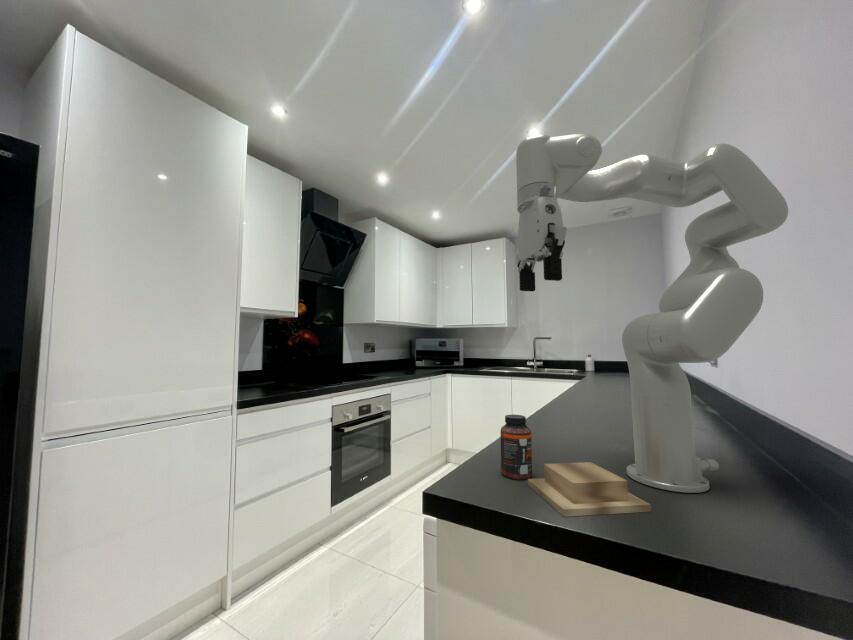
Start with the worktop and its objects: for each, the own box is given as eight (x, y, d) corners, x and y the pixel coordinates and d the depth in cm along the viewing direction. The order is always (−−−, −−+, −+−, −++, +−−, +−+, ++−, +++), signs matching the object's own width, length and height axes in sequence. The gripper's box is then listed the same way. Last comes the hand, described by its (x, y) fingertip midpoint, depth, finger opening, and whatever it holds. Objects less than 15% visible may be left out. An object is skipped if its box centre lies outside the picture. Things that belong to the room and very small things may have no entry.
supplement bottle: (534, 482, 61) (532, 419, 62) (501, 479, 62) (500, 417, 63) (530, 471, 66) (529, 414, 68) (500, 468, 68) (499, 412, 69)
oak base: (599, 481, 61) (597, 459, 62) (651, 511, 49) (649, 483, 50) (527, 484, 59) (527, 461, 60) (564, 516, 47) (563, 487, 48)
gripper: (581, 179, 57) (585, 276, 55) (533, 220, 74) (535, 295, 72) (541, 175, 56) (544, 273, 54) (502, 217, 73) (503, 293, 71)
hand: (539, 285), depth 63 cm, fingers open, 9 cm apart
